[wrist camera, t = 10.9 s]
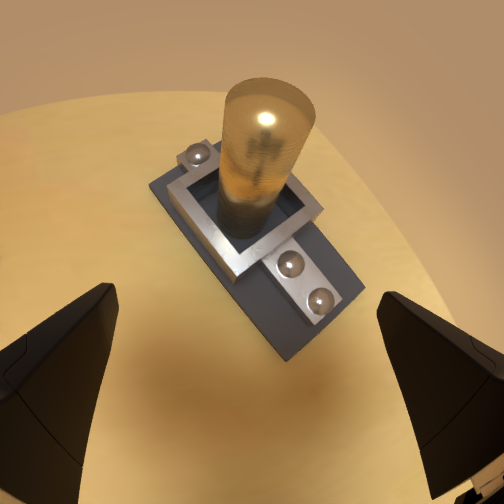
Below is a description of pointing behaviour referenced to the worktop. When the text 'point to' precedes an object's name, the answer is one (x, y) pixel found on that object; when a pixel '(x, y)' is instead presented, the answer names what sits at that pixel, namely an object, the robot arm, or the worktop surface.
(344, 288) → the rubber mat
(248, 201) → the amber cylinder
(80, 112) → the worktop surface
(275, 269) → the grey framed plate
